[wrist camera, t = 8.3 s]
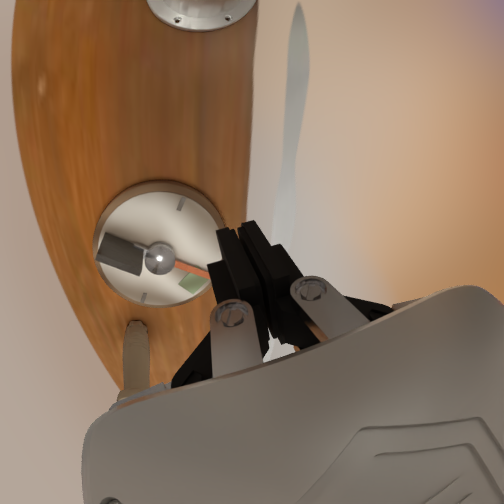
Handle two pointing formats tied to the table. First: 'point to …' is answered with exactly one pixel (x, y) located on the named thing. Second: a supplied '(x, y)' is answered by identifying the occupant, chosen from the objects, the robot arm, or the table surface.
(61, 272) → the table surface
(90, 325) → the table surface
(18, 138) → the table surface
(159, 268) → the dial pointer
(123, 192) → the base
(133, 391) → the handle
